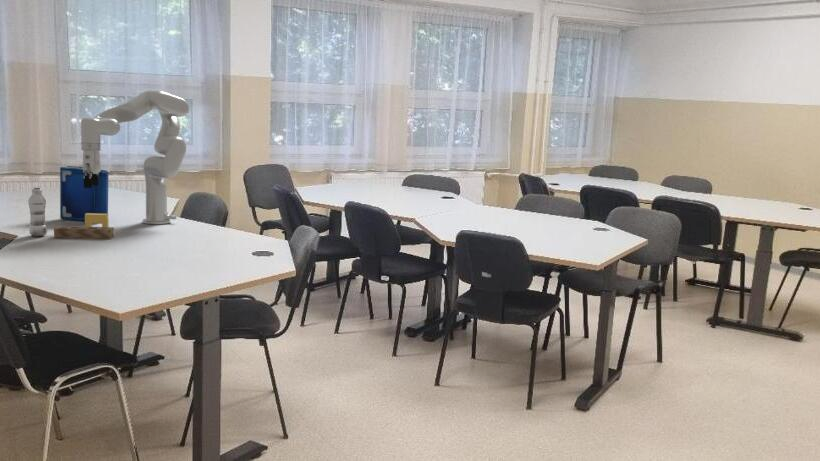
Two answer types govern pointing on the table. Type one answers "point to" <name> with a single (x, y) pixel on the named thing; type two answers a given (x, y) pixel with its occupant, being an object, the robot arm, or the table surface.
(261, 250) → the table surface
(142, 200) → the table surface
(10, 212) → the table surface
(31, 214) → the plastic bottle
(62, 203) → the book
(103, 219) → the yellow notched flat block
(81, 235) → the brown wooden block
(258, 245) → the table surface
